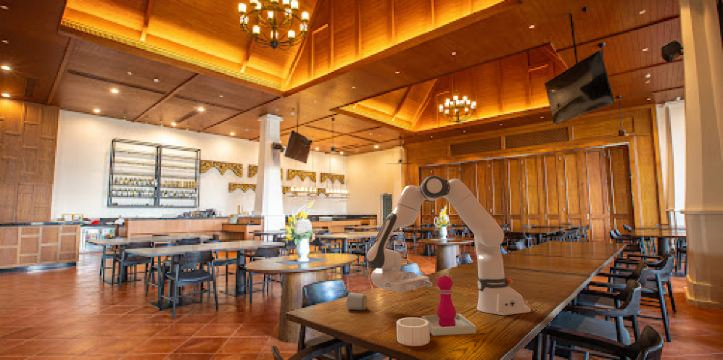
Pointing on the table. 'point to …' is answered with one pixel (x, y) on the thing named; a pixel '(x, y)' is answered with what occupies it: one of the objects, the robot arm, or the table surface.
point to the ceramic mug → (356, 301)
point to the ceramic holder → (413, 331)
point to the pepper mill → (445, 302)
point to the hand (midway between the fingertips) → (423, 286)
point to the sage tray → (460, 328)
